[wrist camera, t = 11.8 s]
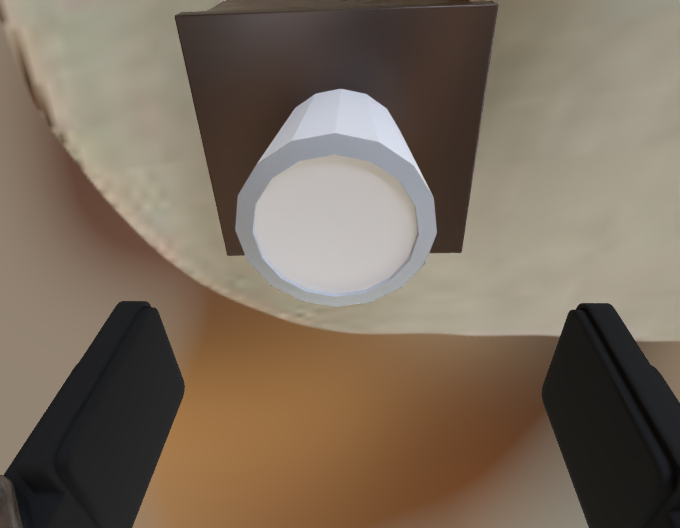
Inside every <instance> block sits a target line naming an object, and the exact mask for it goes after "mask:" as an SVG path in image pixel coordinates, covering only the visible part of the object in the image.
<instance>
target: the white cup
mask: <svg viewBox="0 0 680 528" xmlns="http://www.w3.org/2000/svg"><path fill="white" fill-rule="evenodd" d="M235 231H236V233H237V236H238V238H239V241H240V243H241V246H242V248H243V251H244V253H245V256H246V259H247V261H248V262H249V263H250V264H251V265H252V266H253V267H254V268H255V269H256V271H257V272H258V273H259V274H260V275H261V276H262V277H263V278H264V279H265V280H266V281H267V282H268V283H269V284H270V285H271V286H273V287H275V288H277V289H279V290H281V291H283V292H285V293H287V294H288V295H290V296H292V297H294V298H296V299H298V300H300V301H303V302H309V303H315V304H321V305H327V306H333V307H340V306H348V305H355V304H363V303H370V302H373V301H375V300H377V299H379V298H381V297H383V296H385V295H387V294H390V293H392V292H394V291H396V290H398V289H400V288H402V287H403V286H404V285H405V284H406V283H407V282H408V281H409V280H410V279H411V278H412V277H413V276H414V275H415V274H416V273H417V272H418V271H419V269H420V268H421V267H422V266H423V265H424V264H425V263H426V260H427V257H428V255H429V252H430V250H431V247H432V244H433V242H434V239H435V237H436V234H437V228H436V216H435V205H434V197H433V195H432V193H431V191H430V189H429V187H428V185H427V183H426V181H425V179H424V177H423V175H422V174H421V172H420V170H419V168H418V166H417V164H416V162H415V160H414V158H413V156H412V154H411V152H410V150H409V148H408V146H407V144H406V142H405V140H404V138H403V136H402V134H401V132H400V130H399V128H398V126H397V125H396V123H395V121H394V120H393V118H392V116H391V115H390V113H389V111H388V110H387V108H385V107H384V106H382V105H381V104H380V103H378V102H377V101H375V100H374V99H373V98H371V97H370V96H368V95H367V94H364V93H359V92H355V91H350V90H345V89H336V90H331V91H326V92H321V93H316V94H314V95H313V96H312V97H310V98H309V99H307V100H306V101H304V102H303V103H301V104H300V105H299V106H297V107H296V108H295V109H294V110H293V112H292V113H291V115H290V116H289V118H288V119H287V121H286V122H285V124H284V125H283V126H282V128H281V129H280V131H279V132H278V134H277V135H276V137H275V138H274V140H273V141H272V142H271V144H270V145H269V147H268V148H267V150H266V151H265V153H264V154H263V156H262V157H261V158H260V160H259V161H258V163H257V164H256V166H255V168H254V169H253V171H252V173H251V174H250V176H249V178H248V179H247V181H246V183H245V184H244V186H243V188H242V189H241V191H240V193H239V194H238V199H237V213H236V226H235Z"/></svg>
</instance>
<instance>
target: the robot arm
mask: <svg viewBox="0 0 680 528" xmlns="http://www.w3.org/2000/svg"><path fill="white" fill-rule="evenodd" d="M184 387H185V386H184V380H183V378H182V375H181V372H180V369H179V367H178V364H177V361H176V359H175V356H174V353H173V350H172V348H171V345H170V342H169V340H168V337H167V334H166V332H165V329H164V326H163V323H162V321H161V318H160V315H159V313H158V310H157V309H156V308H151V306H150V304H149V303H148V302H146V301H122V302H119V303H118V304H117V306H116V307H115V309H114V310H113V312H112V313H111V315H110V317H109V318H108V319H107V321H106V322H105V324H104V325H103V327H102V328H101V330H100V332H99V333H98V335H97V336H96V338H95V339H94V341H93V342H92V344H91V345H90V347H89V348H88V350H87V351H86V353H85V354H84V356H83V357H82V359H81V360H80V362H79V363H78V364H77V365H76V366H75V368H74V369H73V371H72V372H71V374H70V375H69V377H68V378H67V380H66V381H65V383H64V384H63V386H62V387H61V389H60V390H59V392H58V393H57V395H56V397H55V398H54V400H53V401H52V403H51V404H50V406H49V407H48V409H47V410H46V412H45V413H44V415H43V416H42V418H41V419H40V421H39V422H38V424H37V425H36V427H35V428H34V430H33V431H32V433H31V434H30V436H29V437H28V439H27V441H26V442H25V443H24V445H23V447H22V448H21V450H20V451H19V453H18V454H17V456H16V457H15V459H14V460H13V462H12V464H11V465H10V466H9V468H8V469H7V471H6V473H5V474H4V475H0V528H132V526H133V524H134V521H135V519H136V516H137V514H138V511H139V508H140V506H141V503H142V500H143V498H144V496H145V493H146V491H147V488H148V485H149V482H150V480H151V477H152V475H153V473H154V470H155V467H156V465H157V462H158V459H159V457H160V455H161V452H162V449H163V447H164V444H165V442H166V439H167V437H168V434H169V431H170V429H171V426H172V424H173V421H174V419H175V416H176V414H177V411H178V408H179V406H180V403H181V400H182V398H183V395H184ZM542 399H543V403H544V406H545V409H546V412H547V414H548V417H549V420H550V422H551V425H552V428H553V430H554V433H555V436H556V439H557V441H558V444H559V447H560V450H561V452H562V455H563V458H564V461H565V463H566V466H567V469H568V472H569V474H570V477H571V480H572V483H573V485H574V488H575V491H576V493H577V496H578V499H579V502H580V504H581V507H582V510H583V513H584V515H585V518H586V520H587V523H588V526H589V528H680V403H679V401H678V400H677V398H676V397H675V395H674V394H673V392H672V391H671V389H670V387H669V386H668V384H667V383H666V381H665V380H664V378H663V377H662V375H661V374H660V373H659V372H658V370H657V369H656V368H655V367H653V366H651V365H650V363H649V362H648V360H647V359H646V357H645V355H644V354H643V352H642V351H641V350H640V348H639V346H638V345H637V343H636V341H635V340H634V338H633V337H632V335H631V334H630V332H629V330H628V329H627V327H626V326H625V324H624V323H623V321H622V320H621V318H620V316H619V315H618V313H617V312H616V310H615V309H614V307H613V306H612V305H610V304H608V303H582V304H579V305H578V307H577V308H576V310H571V311H570V312H569V313H568V316H567V319H566V322H565V324H564V327H563V330H562V333H561V336H560V339H559V341H558V344H557V347H556V350H555V353H554V356H553V358H552V362H551V364H550V368H549V370H548V373H547V376H546V378H545V381H544V384H543V387H542Z"/></svg>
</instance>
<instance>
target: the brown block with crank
mask: <svg viewBox="0 0 680 528" xmlns="http://www.w3.org/2000/svg"><path fill="white" fill-rule="evenodd" d="M497 10H498V4H497V3H495V2H493V1H486V2H471V1H469V0H226V1H224V2H222V3H221V4H219V5H217V6H215V7H213V8H212V9H210V10H208V11H206V12H181V13H179V14H177V15H175V20H176V25H177V29H178V34H179V38H180V43H181V47H182V52H183V56H184V61H185V65H186V70H187V75H188V79H189V84H190V88H191V93H192V97H193V102H194V106H195V111H196V115H197V120H198V124H199V129H200V134H201V138H202V143H203V147H204V152H205V156H206V161H207V165H208V170H209V174H210V179H211V183H212V188H213V192H214V197H215V202H216V206H217V211H218V215H219V220H220V224H221V229H222V233H223V238H224V242H225V247H226V251H227V255H228V256H245V253H244V251H243V248H242V246H241V243H240V241H239V238H238V236H237V233H236V231H235V226H236V213H237V199H238V194H239V193H240V191H241V189H242V188H243V186H244V184H245V183H246V181H247V179H248V178H249V176H250V174H251V173H252V171H253V169H254V168H255V166H256V164H257V163H258V161H259V160H260V158H261V157H262V156H263V154H264V153H265V151H266V150H267V148H268V147H269V145H270V144H271V142H272V141H273V140H274V138H275V137H276V135H277V134H278V132H279V131H280V129H281V128H282V126H283V125H284V124H285V122H286V121H287V119H288V118H289V116H290V115H291V113H292V112H293V110H294V109H295V108H296V107H297V106H299V105H300V104H301V103H303V102H304V101H306V100H307V99H309V98H310V97H312V96H313V95H314V94H316V93H321V92H326V91H331V90H336V89H345V90H350V91H355V92H359V93H364V94H367V95H368V96H370V97H371V98H373V99H374V100H375V101H377V102H378V103H380V104H381V105H382V106H384V107H385V108H387V110H388V111H389V113H390V115H391V116H392V118H393V120H394V121H395V123H396V125H397V126H398V128H399V130H400V132H401V134H402V136H403V138H404V140H405V142H406V144H407V146H408V148H409V150H410V152H411V154H412V156H413V158H414V160H415V162H416V164H417V166H418V168H419V170H420V172H421V174H422V175H423V177H424V179H425V181H426V183H427V185H428V187H429V189H430V191H431V193H432V195H433V197H434V205H435V216H436V228H437V234H436V237H435V239H434V242H433V244H432V247H431V250H430V252H429V253H461V252H462V246H463V239H464V233H465V226H466V219H467V212H468V206H469V199H470V192H471V186H472V179H473V172H474V165H475V159H476V152H477V145H478V138H479V132H480V125H481V118H482V111H483V105H484V98H485V91H486V84H487V78H488V71H489V64H490V58H491V51H492V44H493V37H494V31H495V24H496V17H497Z"/></svg>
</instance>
